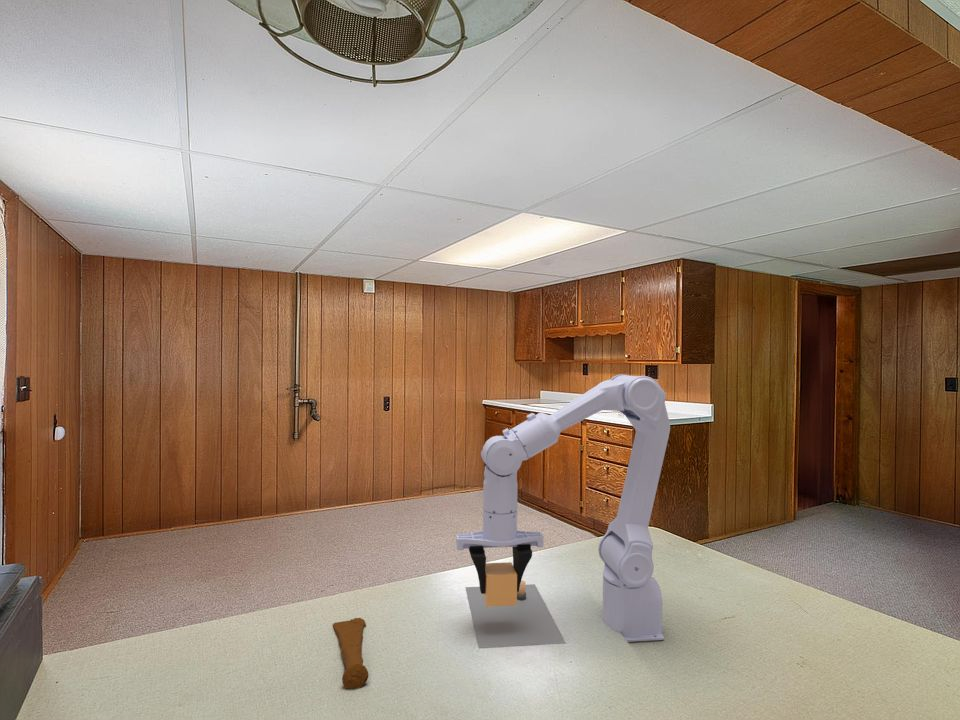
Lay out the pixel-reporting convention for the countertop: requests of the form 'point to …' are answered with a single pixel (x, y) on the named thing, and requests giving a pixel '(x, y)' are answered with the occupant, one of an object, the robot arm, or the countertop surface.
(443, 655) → the countertop surface
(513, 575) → the wooden cube
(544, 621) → the board
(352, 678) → the primitive tool
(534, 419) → the robot arm
